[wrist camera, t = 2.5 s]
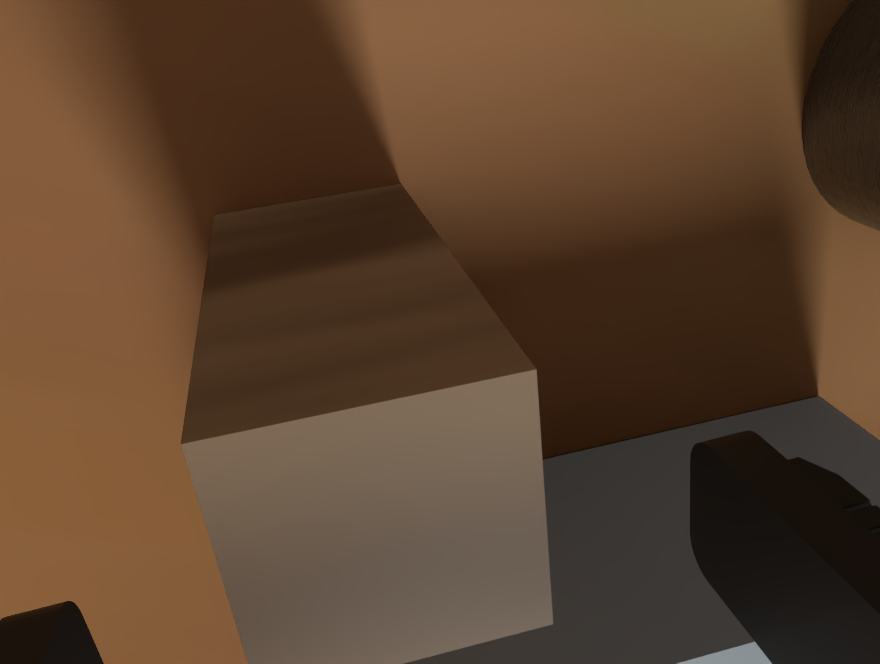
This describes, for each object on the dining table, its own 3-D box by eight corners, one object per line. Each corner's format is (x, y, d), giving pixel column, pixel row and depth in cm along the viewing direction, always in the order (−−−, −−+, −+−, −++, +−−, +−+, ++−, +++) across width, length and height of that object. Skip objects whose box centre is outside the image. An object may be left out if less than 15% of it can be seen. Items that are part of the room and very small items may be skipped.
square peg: (213, 214, 16) (180, 444, 8) (400, 183, 17) (536, 369, 9) (254, 380, 18) (259, 701, 10) (422, 346, 19) (553, 624, 11)
